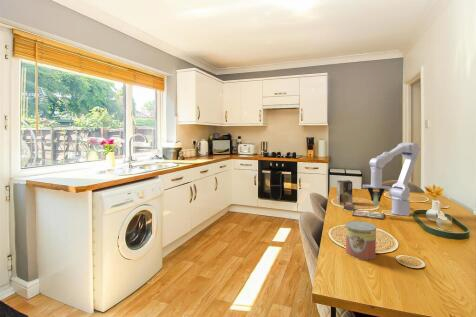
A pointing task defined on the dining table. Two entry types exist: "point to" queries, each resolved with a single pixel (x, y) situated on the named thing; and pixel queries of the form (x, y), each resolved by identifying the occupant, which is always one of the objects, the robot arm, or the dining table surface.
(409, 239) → the dining table surface
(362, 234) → the canned food
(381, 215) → the colouring board
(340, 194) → the coffee box
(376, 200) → the sage marker
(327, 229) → the dining table surface
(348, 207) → the button housing
